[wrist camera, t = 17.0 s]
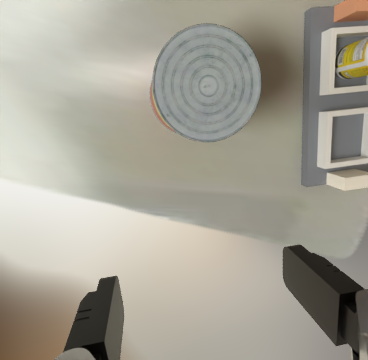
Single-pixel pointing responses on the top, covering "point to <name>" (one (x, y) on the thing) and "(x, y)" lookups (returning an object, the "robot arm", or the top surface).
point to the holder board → (334, 100)
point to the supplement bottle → (352, 60)
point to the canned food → (205, 83)
